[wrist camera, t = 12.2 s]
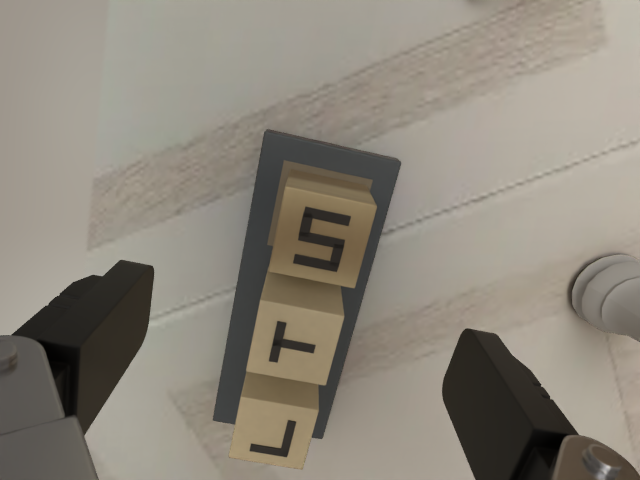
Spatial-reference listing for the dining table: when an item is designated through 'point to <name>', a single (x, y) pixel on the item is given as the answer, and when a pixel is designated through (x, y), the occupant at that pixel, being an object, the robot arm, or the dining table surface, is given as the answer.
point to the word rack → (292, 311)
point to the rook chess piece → (610, 295)
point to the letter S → (322, 229)
